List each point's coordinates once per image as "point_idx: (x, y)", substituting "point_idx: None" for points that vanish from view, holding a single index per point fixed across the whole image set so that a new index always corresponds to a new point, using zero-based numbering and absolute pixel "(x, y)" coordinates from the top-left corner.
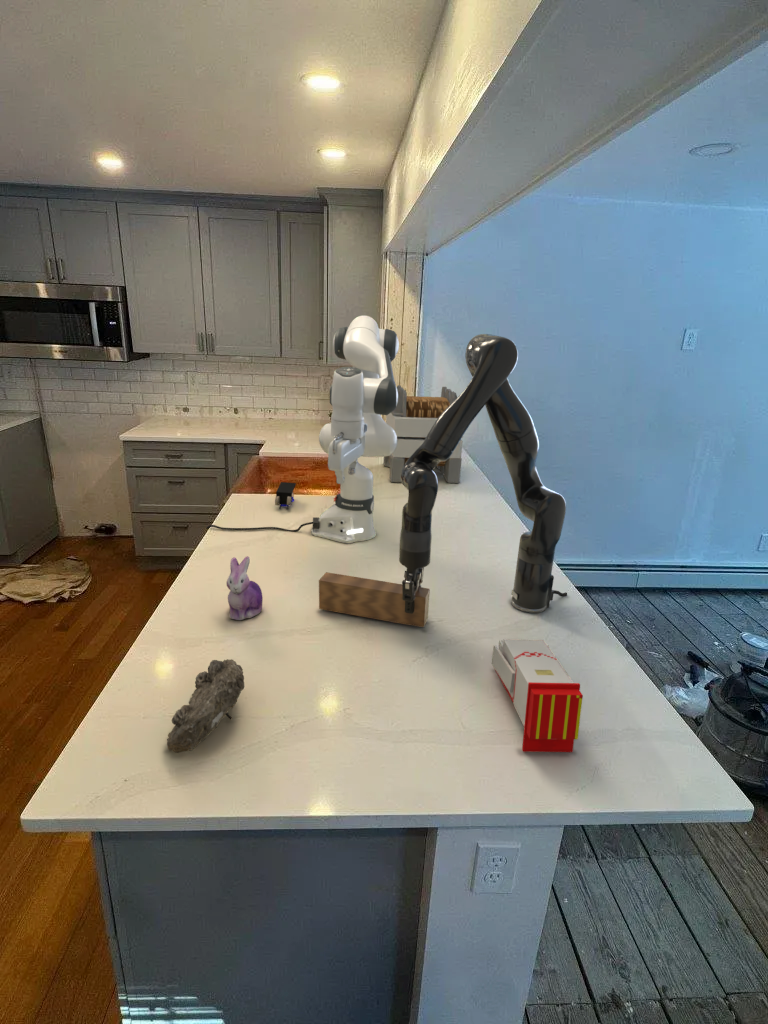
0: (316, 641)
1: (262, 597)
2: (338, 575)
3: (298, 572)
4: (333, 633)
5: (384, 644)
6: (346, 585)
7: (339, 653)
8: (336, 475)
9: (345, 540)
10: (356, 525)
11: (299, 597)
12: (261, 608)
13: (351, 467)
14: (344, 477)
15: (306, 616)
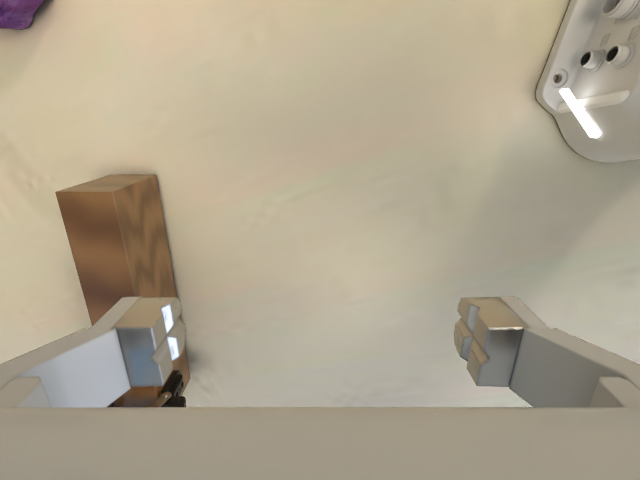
0: (9, 214)
1: (7, 19)
2: (112, 233)
3: (282, 22)
4: (55, 234)
5: (79, 327)
6: (77, 269)
7: (4, 267)
8: (52, 350)
9: (543, 86)
10: (601, 117)
11: (148, 97)
12: (20, 28)
13: (524, 355)
14: (165, 378)
15: (78, 154)
